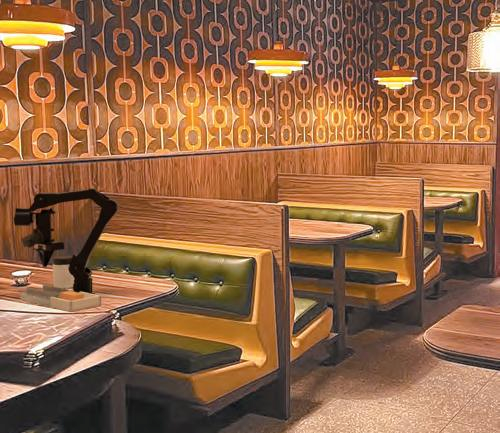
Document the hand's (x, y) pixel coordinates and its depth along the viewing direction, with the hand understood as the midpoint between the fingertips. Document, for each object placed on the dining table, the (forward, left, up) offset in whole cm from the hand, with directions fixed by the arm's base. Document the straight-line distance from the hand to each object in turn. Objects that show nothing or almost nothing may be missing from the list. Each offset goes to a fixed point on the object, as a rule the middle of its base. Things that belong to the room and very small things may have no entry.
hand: (44, 266), depth 265 cm
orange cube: (+4, +22, -8) cm, 24 cm away
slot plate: (+4, +8, -11) cm, 14 cm away
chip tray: (+4, +24, -11) cm, 27 cm away
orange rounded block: (+4, +20, -10) cm, 23 cm away
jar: (-15, -10, -11) cm, 21 cm away
